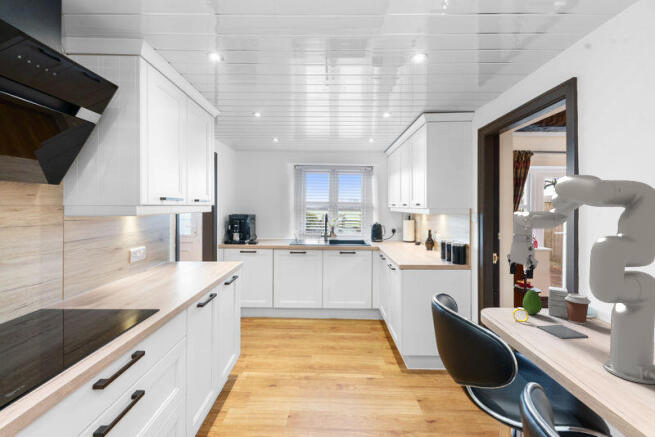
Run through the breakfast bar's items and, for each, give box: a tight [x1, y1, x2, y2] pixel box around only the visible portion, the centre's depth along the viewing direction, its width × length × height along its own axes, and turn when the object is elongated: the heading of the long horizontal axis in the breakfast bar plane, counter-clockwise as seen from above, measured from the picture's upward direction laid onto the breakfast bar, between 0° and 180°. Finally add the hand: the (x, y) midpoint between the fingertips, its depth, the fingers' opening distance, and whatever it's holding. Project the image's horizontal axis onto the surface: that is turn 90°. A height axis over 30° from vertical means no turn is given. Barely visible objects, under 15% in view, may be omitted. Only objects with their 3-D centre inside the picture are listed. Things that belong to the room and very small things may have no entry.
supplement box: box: [548, 286, 569, 319], centre depth 150 cm, size 7×7×13 cm
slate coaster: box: [536, 324, 589, 340], centre depth 128 cm, size 12×12×1 cm
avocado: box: [522, 289, 543, 315], centre depth 151 cm, size 8×8×12 cm
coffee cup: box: [565, 293, 592, 325], centre depth 141 cm, size 9×9×12 cm
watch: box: [512, 306, 530, 323], centre depth 141 cm, size 6×3×6 cm, turn 72°
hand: (521, 276), depth 141 cm, fingers open, 9 cm apart
